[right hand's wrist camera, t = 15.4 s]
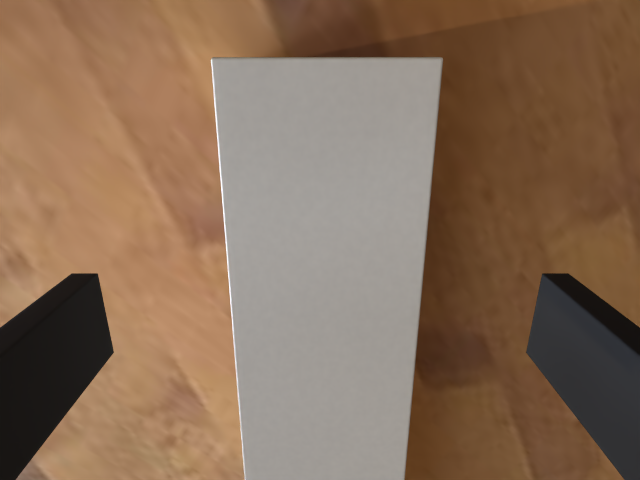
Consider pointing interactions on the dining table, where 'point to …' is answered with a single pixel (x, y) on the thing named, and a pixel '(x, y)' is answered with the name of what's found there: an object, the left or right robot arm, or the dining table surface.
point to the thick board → (325, 255)
